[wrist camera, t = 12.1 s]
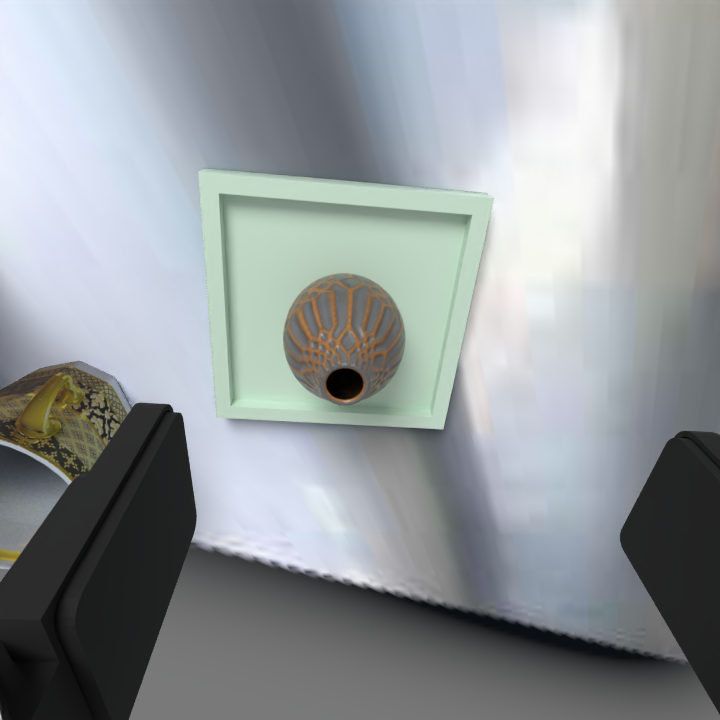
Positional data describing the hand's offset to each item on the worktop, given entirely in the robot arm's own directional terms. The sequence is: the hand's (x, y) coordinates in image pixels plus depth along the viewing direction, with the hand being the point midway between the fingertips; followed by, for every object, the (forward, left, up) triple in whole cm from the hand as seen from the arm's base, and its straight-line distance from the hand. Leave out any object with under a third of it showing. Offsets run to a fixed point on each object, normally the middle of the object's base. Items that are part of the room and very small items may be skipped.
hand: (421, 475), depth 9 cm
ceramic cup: (+18, +13, -22) cm, 31 cm away
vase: (+1, +6, -21) cm, 22 cm away
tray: (+1, +6, -21) cm, 22 cm away
